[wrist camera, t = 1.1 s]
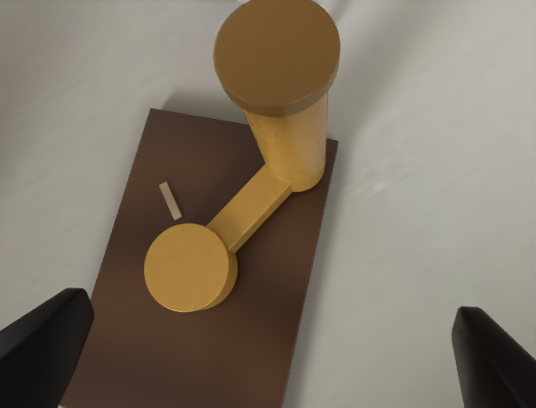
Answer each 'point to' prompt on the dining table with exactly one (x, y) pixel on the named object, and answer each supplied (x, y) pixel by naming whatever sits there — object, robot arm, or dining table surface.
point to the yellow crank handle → (266, 135)
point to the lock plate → (208, 320)
